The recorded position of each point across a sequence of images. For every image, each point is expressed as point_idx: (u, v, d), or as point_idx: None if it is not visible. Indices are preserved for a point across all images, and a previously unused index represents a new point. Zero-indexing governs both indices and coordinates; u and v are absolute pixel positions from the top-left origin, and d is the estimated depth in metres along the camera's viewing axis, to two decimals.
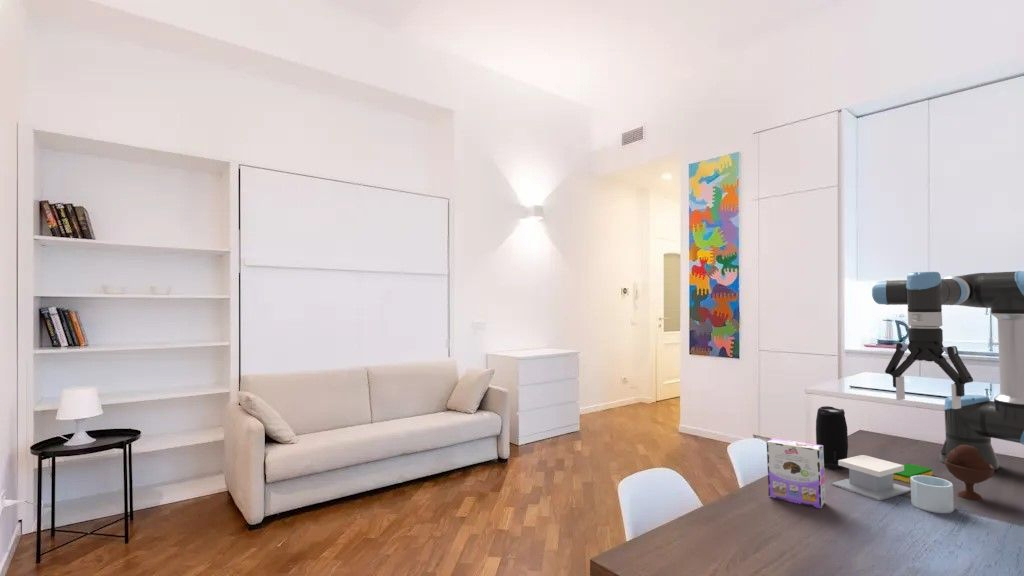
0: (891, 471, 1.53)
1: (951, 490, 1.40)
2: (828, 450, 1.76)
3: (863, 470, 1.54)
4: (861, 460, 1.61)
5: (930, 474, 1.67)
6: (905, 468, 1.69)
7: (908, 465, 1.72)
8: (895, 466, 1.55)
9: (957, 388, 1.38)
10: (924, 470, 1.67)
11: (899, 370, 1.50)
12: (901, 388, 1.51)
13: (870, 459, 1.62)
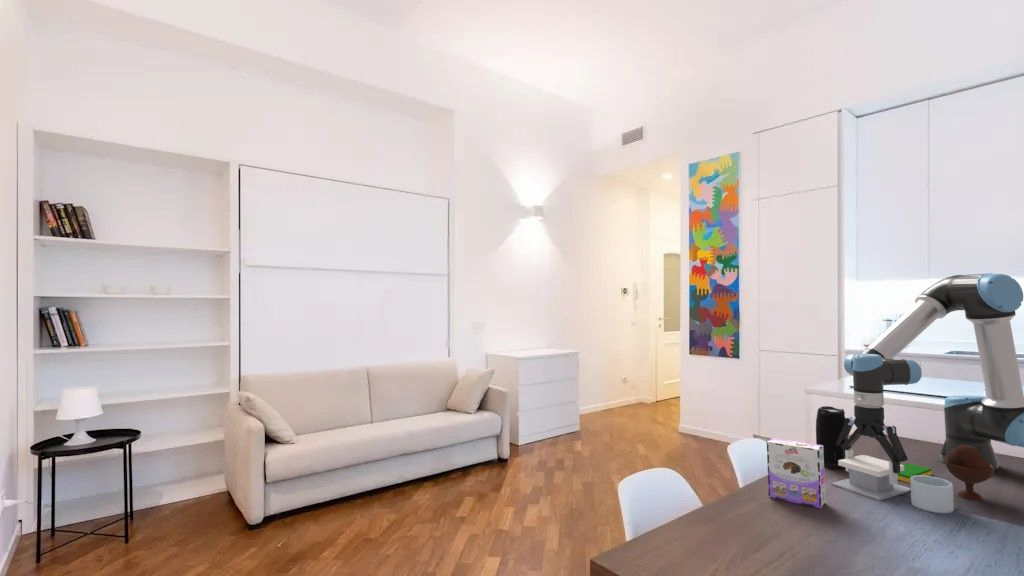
0: None
1: (951, 490, 1.40)
2: (828, 450, 1.76)
3: (863, 470, 1.54)
4: (861, 460, 1.61)
5: (929, 474, 1.67)
6: (905, 468, 1.69)
7: (907, 465, 1.72)
8: None
9: (894, 465, 1.52)
10: (924, 470, 1.67)
11: (848, 443, 1.63)
12: None
13: (870, 459, 1.62)
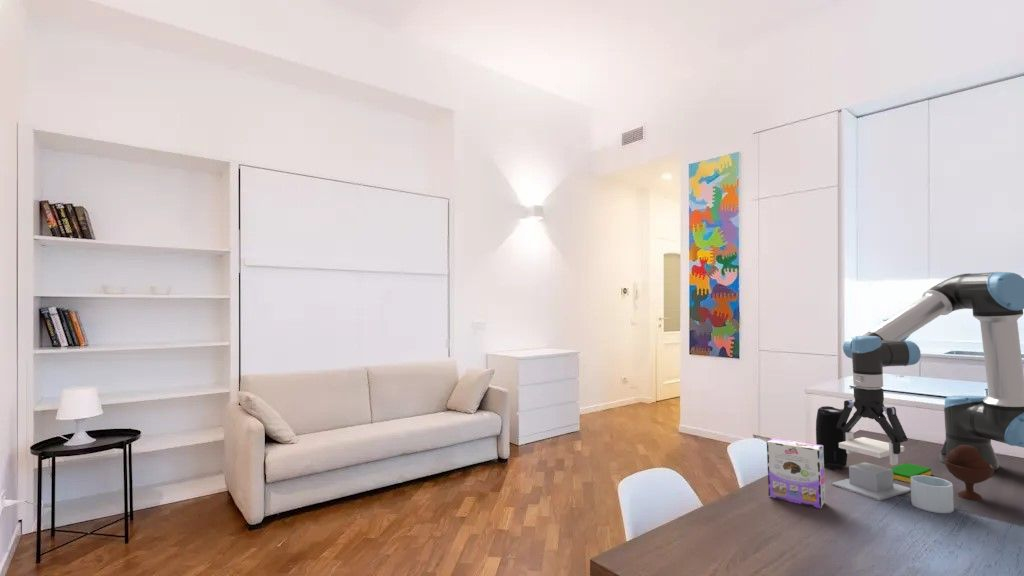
0: None
1: (951, 490, 1.40)
2: (828, 450, 1.76)
3: (863, 452, 1.55)
4: (861, 442, 1.61)
5: (929, 474, 1.68)
6: (905, 468, 1.69)
7: (907, 465, 1.72)
8: None
9: (894, 446, 1.52)
10: (924, 470, 1.67)
11: (848, 426, 1.63)
12: None
13: (870, 441, 1.62)
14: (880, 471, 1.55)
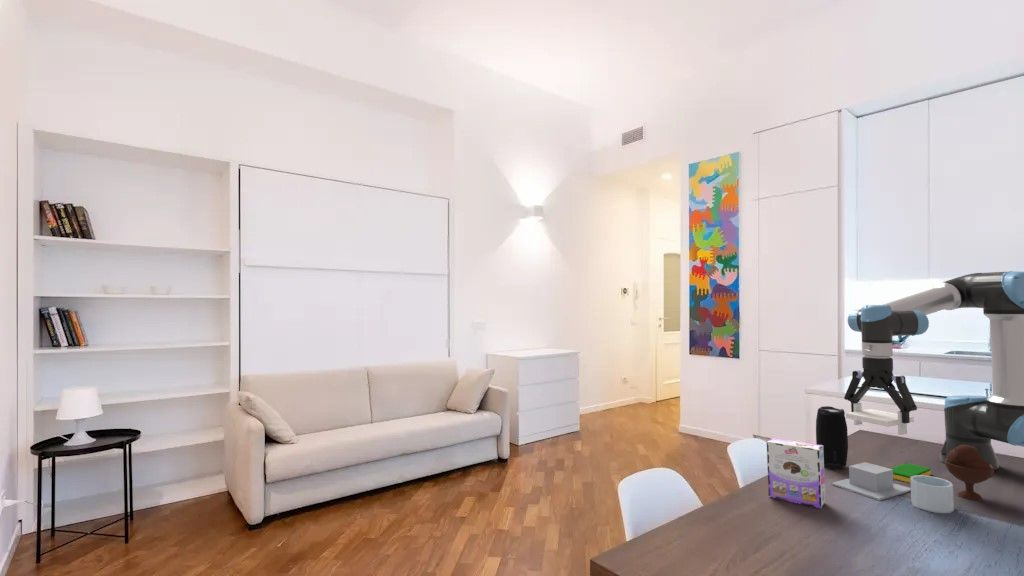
0: None
1: (951, 490, 1.40)
2: (828, 450, 1.76)
3: (871, 421, 1.52)
4: (869, 413, 1.58)
5: (929, 473, 1.68)
6: (905, 468, 1.69)
7: (907, 465, 1.72)
8: None
9: (903, 415, 1.49)
10: (923, 470, 1.67)
11: (856, 397, 1.61)
12: None
13: (879, 412, 1.59)
14: (880, 471, 1.55)
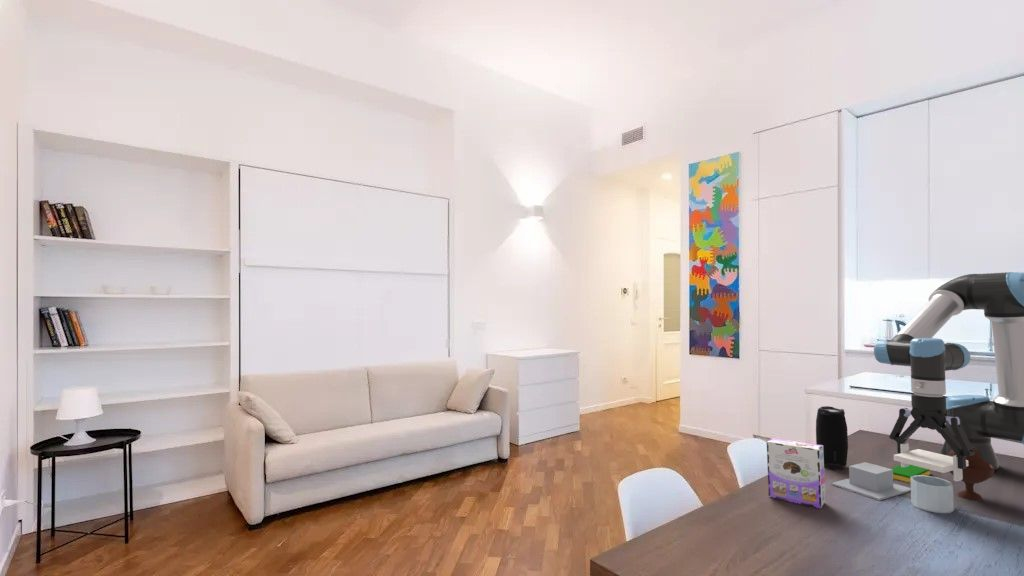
0: None
1: (951, 490, 1.40)
2: (828, 450, 1.76)
3: (924, 465, 1.40)
4: (918, 455, 1.46)
5: (928, 473, 1.68)
6: (905, 468, 1.69)
7: None
8: None
9: (959, 460, 1.37)
10: (923, 470, 1.67)
11: (903, 437, 1.49)
12: None
13: (928, 453, 1.47)
14: (880, 471, 1.55)
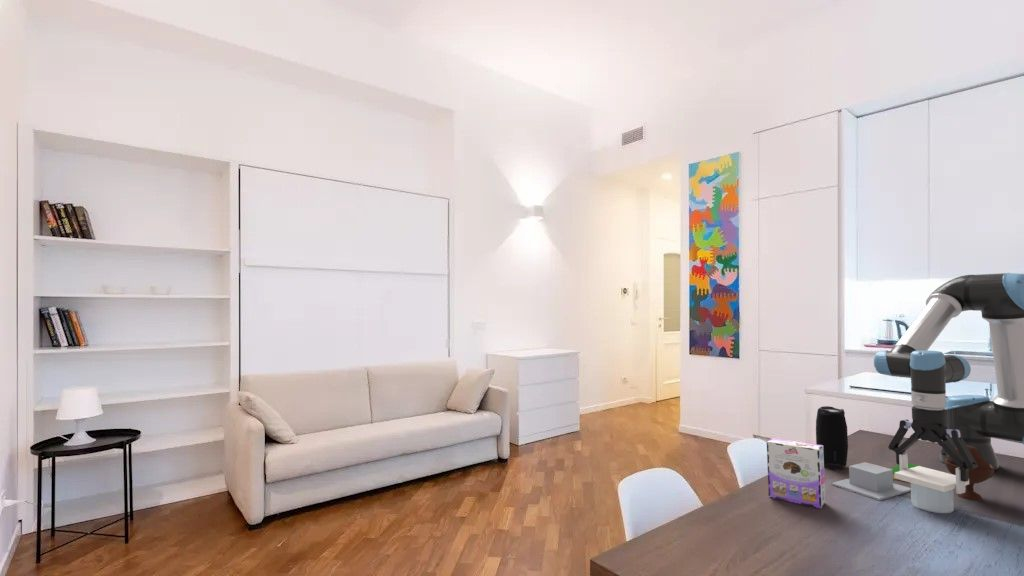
0: None
1: (951, 490, 1.40)
2: (828, 450, 1.76)
3: (924, 484, 1.40)
4: (919, 472, 1.46)
5: None
6: None
7: None
8: None
9: (961, 473, 1.37)
10: None
11: (902, 448, 1.49)
12: (904, 466, 1.50)
13: (929, 471, 1.47)
14: (880, 471, 1.55)
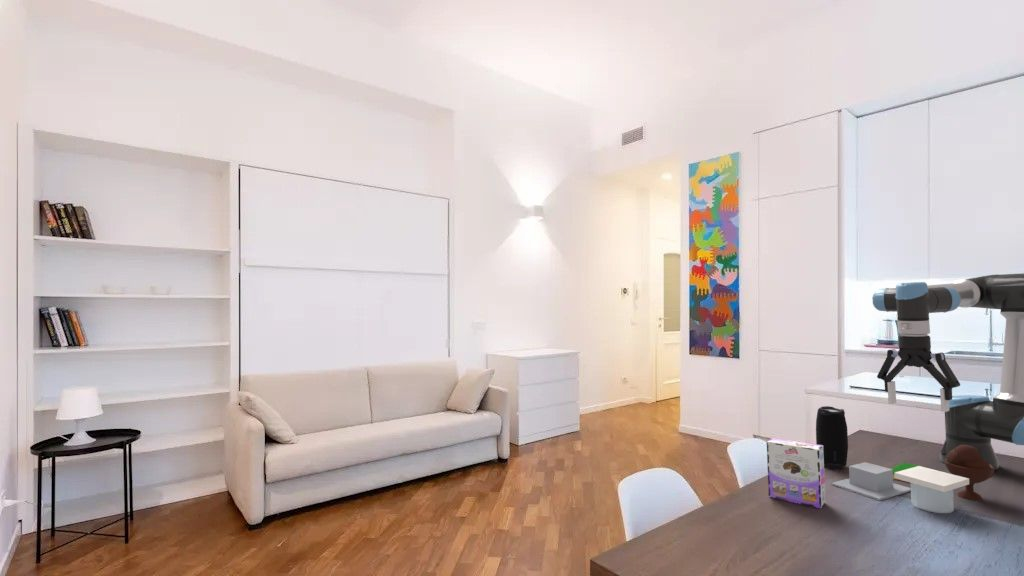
0: (956, 485, 1.38)
1: (951, 490, 1.40)
2: (828, 450, 1.76)
3: (924, 484, 1.40)
4: (919, 472, 1.46)
5: None
6: (905, 468, 1.69)
7: (905, 465, 1.72)
8: (960, 479, 1.40)
9: (945, 392, 1.47)
10: None
11: (890, 375, 1.58)
12: (892, 392, 1.59)
13: (929, 471, 1.47)
14: (880, 471, 1.55)
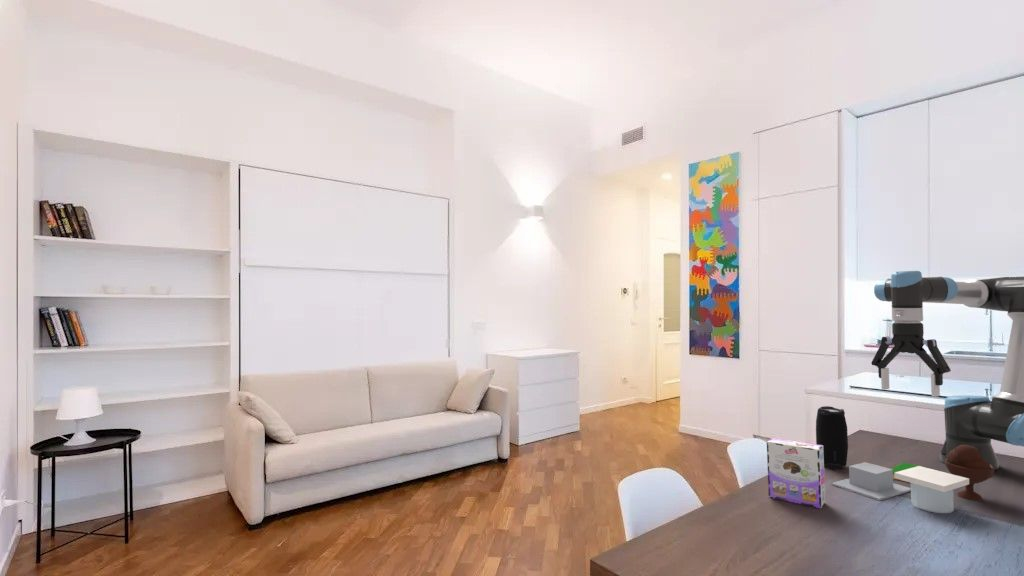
0: (956, 485, 1.38)
1: (951, 490, 1.40)
2: (828, 450, 1.76)
3: (924, 484, 1.40)
4: (919, 472, 1.46)
5: None
6: (905, 468, 1.69)
7: (905, 465, 1.72)
8: (960, 479, 1.40)
9: (936, 378, 1.50)
10: None
11: (884, 362, 1.63)
12: (886, 379, 1.63)
13: (929, 471, 1.47)
14: (880, 471, 1.55)
